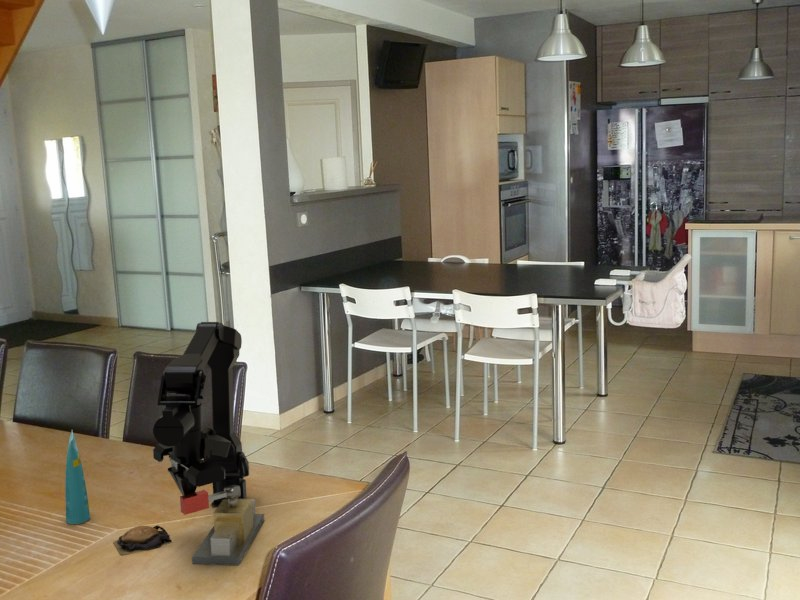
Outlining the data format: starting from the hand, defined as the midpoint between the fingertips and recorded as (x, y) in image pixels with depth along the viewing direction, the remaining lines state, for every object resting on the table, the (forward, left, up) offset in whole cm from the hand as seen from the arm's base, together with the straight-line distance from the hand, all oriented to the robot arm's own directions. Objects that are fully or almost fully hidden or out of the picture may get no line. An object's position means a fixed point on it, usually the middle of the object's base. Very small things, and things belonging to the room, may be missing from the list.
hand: (189, 503), depth 161 cm
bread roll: (-11, +3, -10) cm, 15 cm away
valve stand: (+8, +4, -10) cm, 13 cm away
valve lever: (+4, +1, -1) cm, 4 cm away
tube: (-29, +13, -10) cm, 34 cm away
